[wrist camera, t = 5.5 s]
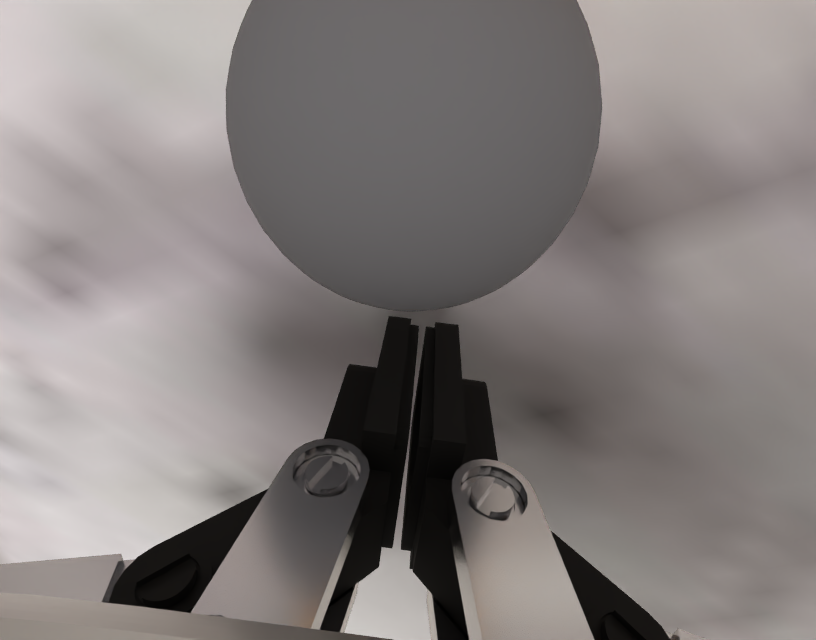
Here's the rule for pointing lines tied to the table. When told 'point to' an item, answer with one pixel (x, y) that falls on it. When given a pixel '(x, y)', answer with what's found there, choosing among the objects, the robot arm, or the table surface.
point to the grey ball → (413, 139)
